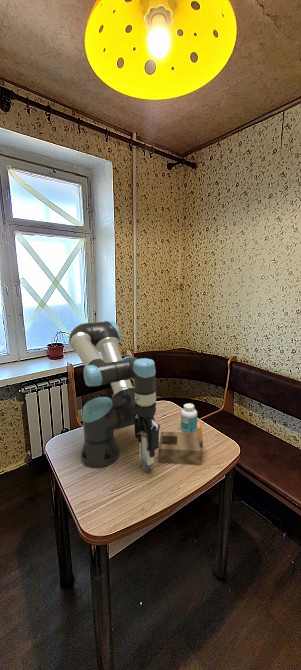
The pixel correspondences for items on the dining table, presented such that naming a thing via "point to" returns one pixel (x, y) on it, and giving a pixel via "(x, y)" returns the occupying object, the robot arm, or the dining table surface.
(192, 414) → the pill bottle
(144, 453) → the steel pin
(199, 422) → the plate
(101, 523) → the dining table surface
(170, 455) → the block
